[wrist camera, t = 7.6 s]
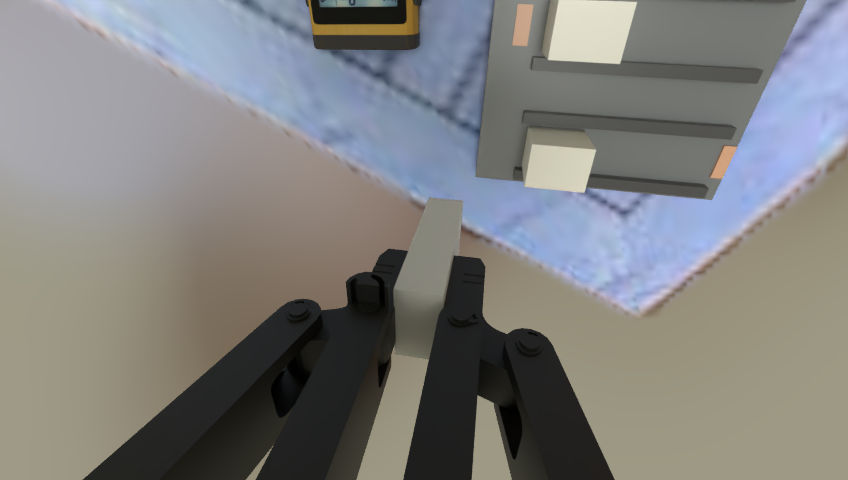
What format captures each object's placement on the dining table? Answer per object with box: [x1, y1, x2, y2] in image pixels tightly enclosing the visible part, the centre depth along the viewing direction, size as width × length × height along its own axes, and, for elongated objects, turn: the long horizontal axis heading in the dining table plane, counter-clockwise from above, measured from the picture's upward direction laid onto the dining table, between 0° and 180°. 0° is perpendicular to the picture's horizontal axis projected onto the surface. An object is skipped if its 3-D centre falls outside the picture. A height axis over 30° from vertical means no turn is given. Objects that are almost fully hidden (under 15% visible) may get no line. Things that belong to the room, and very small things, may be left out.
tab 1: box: [541, 0, 637, 64], centre depth 23 cm, size 3×4×4 cm
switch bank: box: [476, 0, 806, 200], centre depth 25 cm, size 22×18×3 cm
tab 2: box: [522, 126, 596, 193], centre depth 27 cm, size 3×4×4 cm
